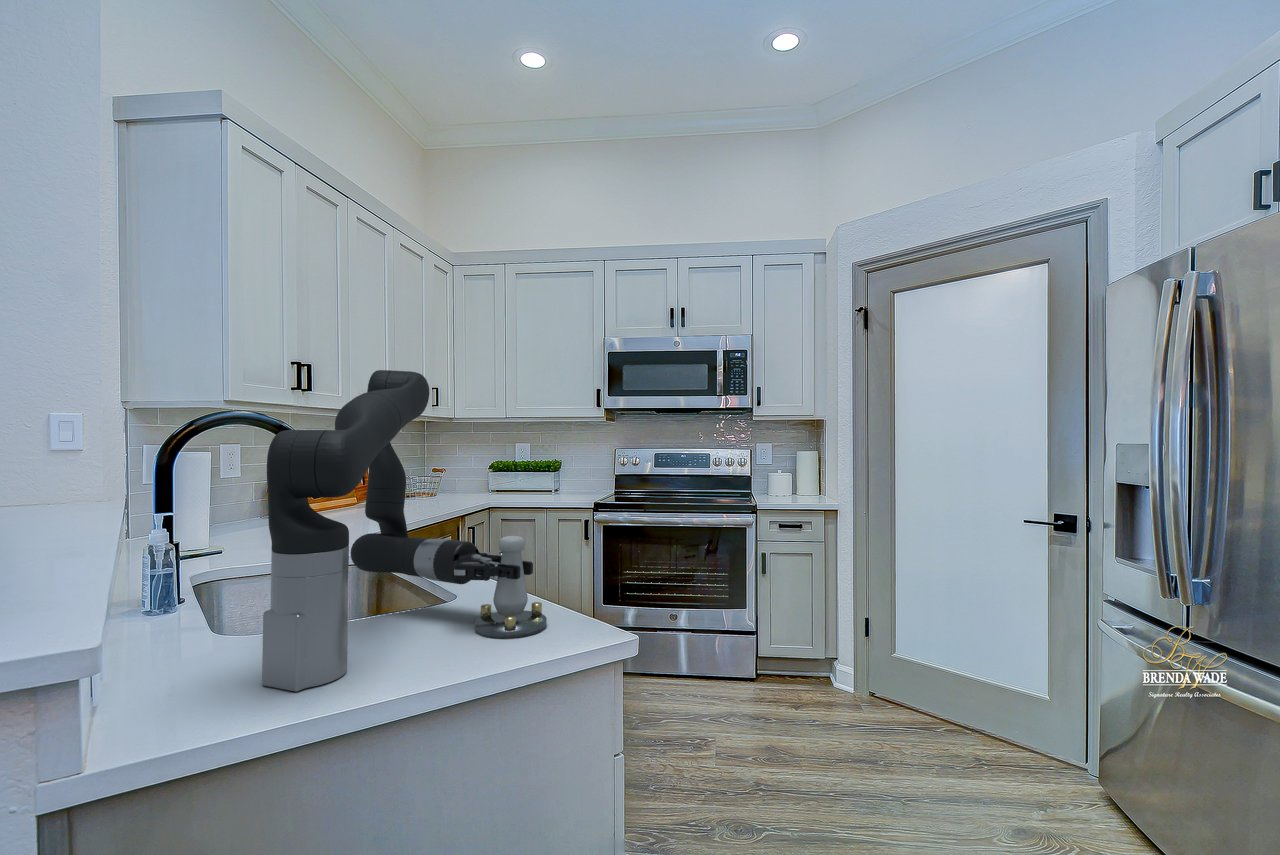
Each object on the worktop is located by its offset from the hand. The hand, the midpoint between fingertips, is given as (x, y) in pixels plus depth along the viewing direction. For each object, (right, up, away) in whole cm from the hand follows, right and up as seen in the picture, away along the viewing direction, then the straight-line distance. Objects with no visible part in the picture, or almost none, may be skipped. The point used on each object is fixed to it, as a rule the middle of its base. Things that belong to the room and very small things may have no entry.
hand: (525, 570), depth 102 cm
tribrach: (-3, -10, +1) cm, 10 cm away
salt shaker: (-3, -8, +1) cm, 8 cm away
